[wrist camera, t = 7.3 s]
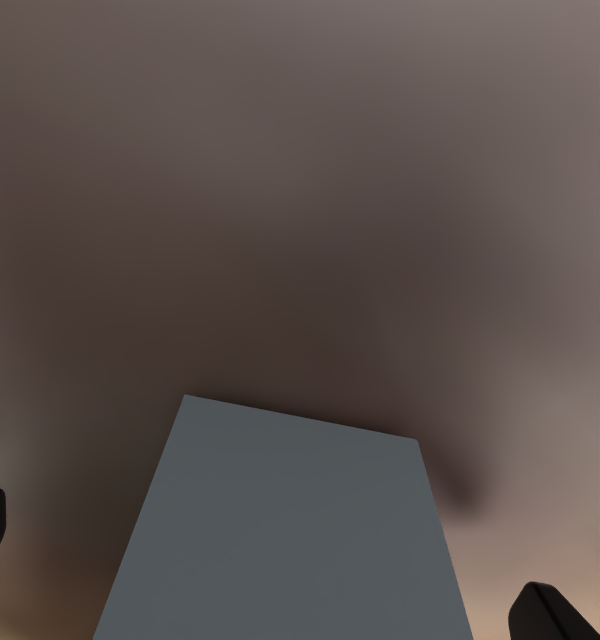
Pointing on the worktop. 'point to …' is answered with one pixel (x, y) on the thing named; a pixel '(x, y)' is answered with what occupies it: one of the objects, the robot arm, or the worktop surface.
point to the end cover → (284, 536)
